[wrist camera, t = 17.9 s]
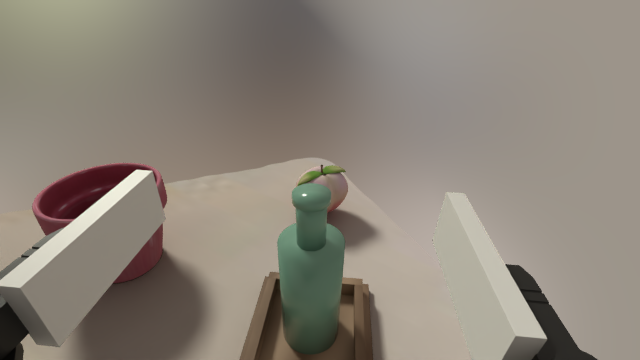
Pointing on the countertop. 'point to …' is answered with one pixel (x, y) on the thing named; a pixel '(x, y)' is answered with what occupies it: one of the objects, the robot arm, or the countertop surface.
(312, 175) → the decorative fruit
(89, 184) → the plant pot
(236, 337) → the countertop surface
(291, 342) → the green bottle
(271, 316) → the u rest
